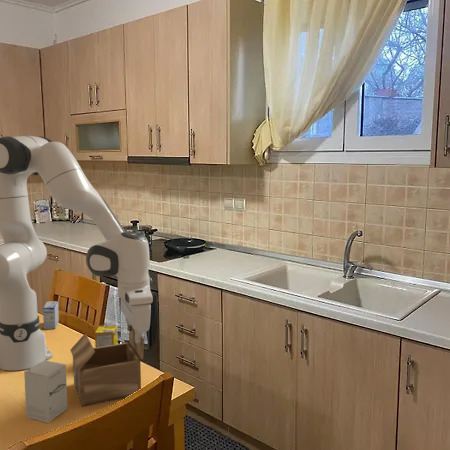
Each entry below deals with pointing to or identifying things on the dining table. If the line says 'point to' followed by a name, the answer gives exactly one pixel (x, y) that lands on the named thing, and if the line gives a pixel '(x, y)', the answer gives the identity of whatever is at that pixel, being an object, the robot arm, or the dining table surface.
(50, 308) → the medicine box
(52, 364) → the supplement box
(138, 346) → the flap
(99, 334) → the supplement box
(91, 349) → the flap
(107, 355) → the carton
